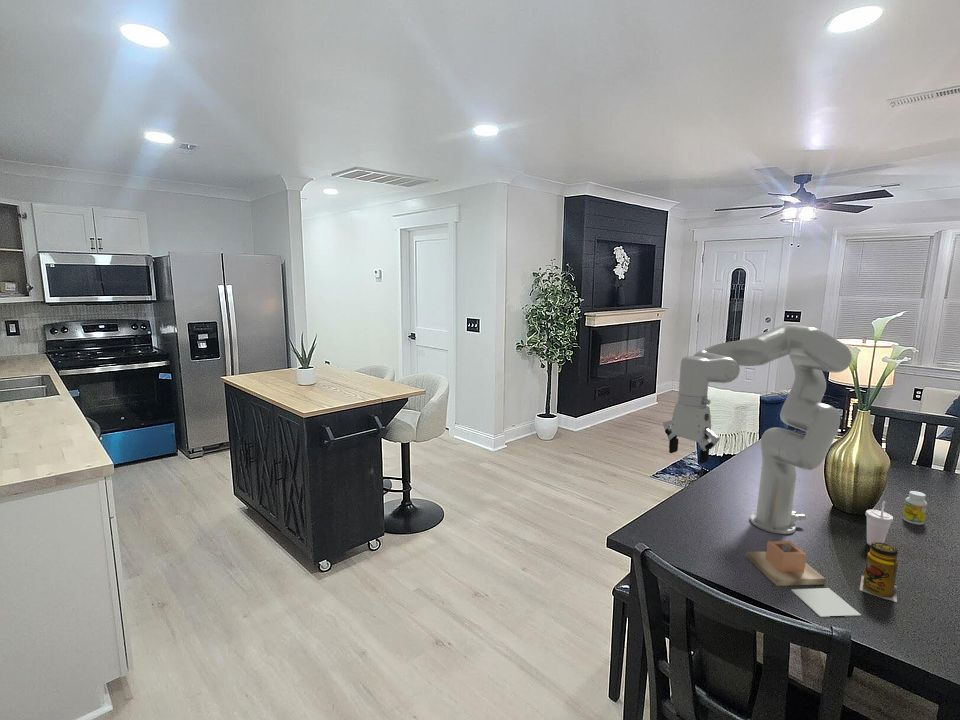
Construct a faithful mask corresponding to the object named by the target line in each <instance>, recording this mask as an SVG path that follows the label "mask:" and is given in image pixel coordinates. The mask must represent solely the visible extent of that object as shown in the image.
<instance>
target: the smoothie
mask: <svg viewBox="0 0 960 720" xmlns="http://www.w3.org/2000/svg"><path fill="white" fill-rule="evenodd" d="M885 504H886V501H885V500H882V503H881V510H879V509H867V510H866V511H865V516H866V543H867V545H869V546H870V547H871V544H872V543H874V542H881V543H885V542H886V539H887V535H888V532H889V529H890V527H891V524H892V523H893V522H894V516H893V515H891V514H890V513H888V512H887V511H886V512H885V506H886V505H885Z"/></svg>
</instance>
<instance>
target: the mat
mask: <svg viewBox="0 0 960 720" xmlns="http://www.w3.org/2000/svg"><path fill="white" fill-rule="evenodd" d="M790 591H791V592H792V593H793V594H794V595H796V597H797V598H799V599H800V601H802V602H803V603H804V604H805V605H806V606H807V607H808V608H809V609H811V611H813V612H814V613H815V614H816V615H818V617H819V618H831V617H830V616H845V617H861V616H862V613H860V612H859V611H857V610H856V609H855V608H853V606H851V605H850V604H849V603H847V601H845V600H844V599H843V598H842V597H840V596H839V594H837V593H836V592H834V591H833V590H832V589H831V588H829V587H825V588H824V587H819V588H794V589H793V588H792V589H790Z"/></svg>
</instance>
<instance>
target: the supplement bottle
mask: <svg viewBox="0 0 960 720" xmlns="http://www.w3.org/2000/svg"><path fill="white" fill-rule="evenodd" d="M926 498H927V497H926V494H925V493H923V492H921V491H915V490H909V493H908V496H907V497H906V498H905V500H904V506H903V513H902V519H903V521H905V522H907V523H908V524H909V523H910V524H913V525H919V526H920V525H924V524H925V522H926V521H925V520H926V514H927V508H928V502H927V501H926Z"/></svg>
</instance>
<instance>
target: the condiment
mask: <svg viewBox="0 0 960 720" xmlns="http://www.w3.org/2000/svg"><path fill="white" fill-rule="evenodd" d="M898 554H899V553H898V549H897V548H895V547H894V546H892V545H890V544H888V543H886V542H884V543H881V542H874V543H872V544H871V546H870V548H869V551H868V552H867V554H866V556H867V557H866V562H865V563H866V564H865V567H864V575H861V576H860V577H861V579H860V585H859V591H861V592H864V593H866V594H869V595H872V596H875V597H878V598H882V599H885V600H889V601H892V602H895V603H898V585H895V584H896V579H897V573H898V566H899V561H898Z"/></svg>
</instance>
